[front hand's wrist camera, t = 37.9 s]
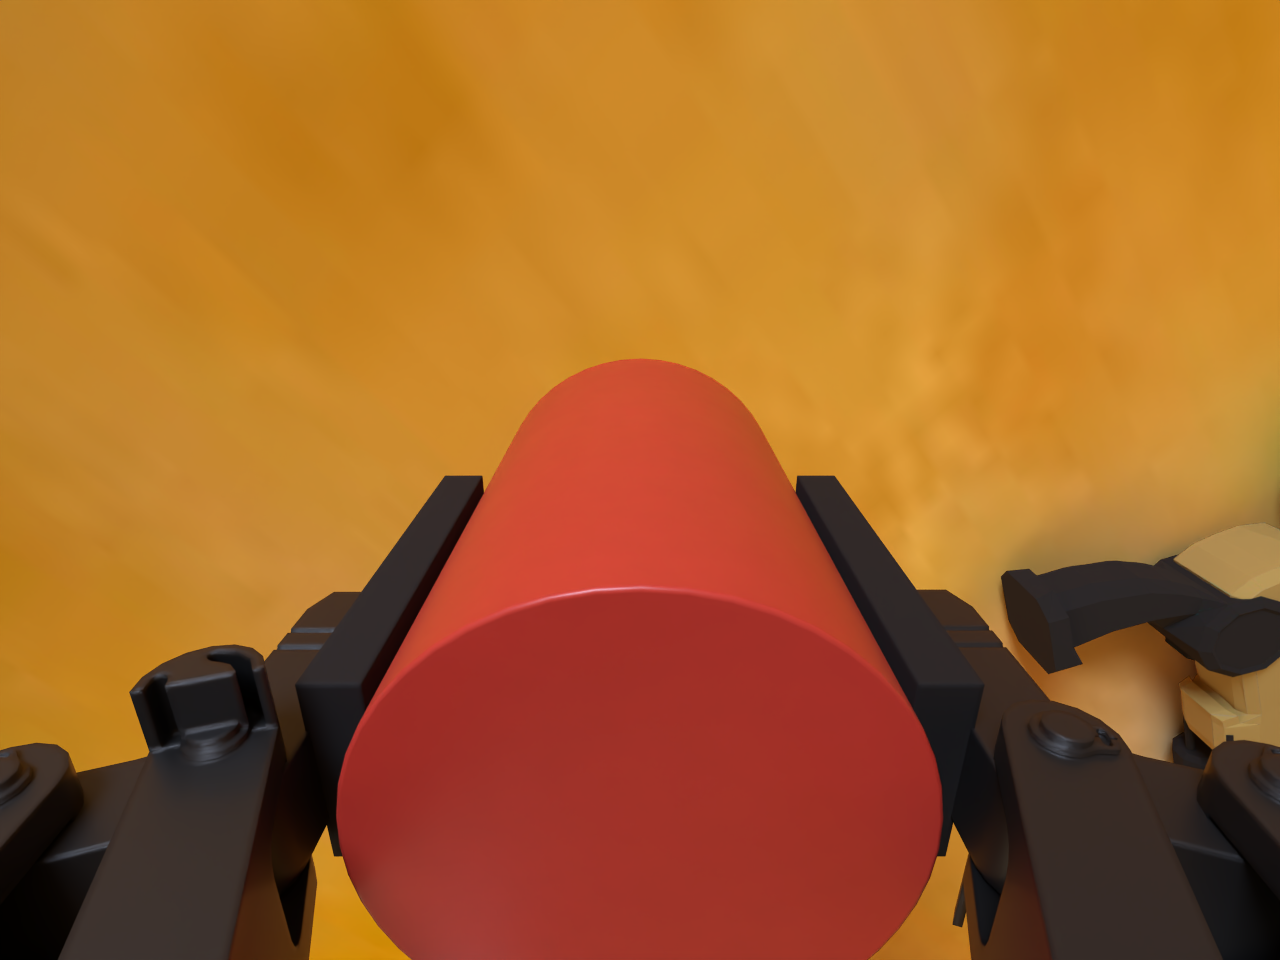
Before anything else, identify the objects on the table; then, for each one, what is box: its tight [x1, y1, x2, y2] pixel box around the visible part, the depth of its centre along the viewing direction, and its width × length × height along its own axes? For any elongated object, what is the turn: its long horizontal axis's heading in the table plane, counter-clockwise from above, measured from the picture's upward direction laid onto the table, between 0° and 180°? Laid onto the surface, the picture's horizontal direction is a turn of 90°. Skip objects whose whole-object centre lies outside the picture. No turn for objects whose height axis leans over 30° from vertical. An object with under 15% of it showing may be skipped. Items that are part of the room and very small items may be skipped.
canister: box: [336, 359, 943, 960], centre depth 12 cm, size 6×6×10 cm
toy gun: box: [1001, 523, 1280, 770], centre depth 29 cm, size 4×26×15 cm
